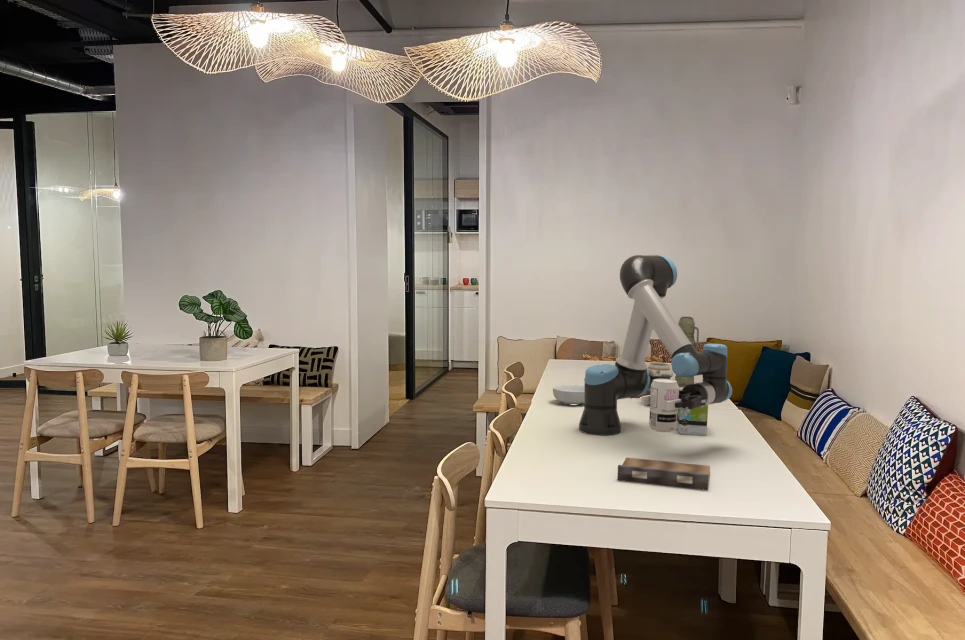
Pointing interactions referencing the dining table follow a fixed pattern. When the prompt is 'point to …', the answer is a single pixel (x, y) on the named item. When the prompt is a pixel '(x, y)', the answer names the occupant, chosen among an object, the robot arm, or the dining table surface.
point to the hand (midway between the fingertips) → (654, 403)
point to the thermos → (688, 329)
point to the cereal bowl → (569, 393)
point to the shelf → (664, 473)
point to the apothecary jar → (658, 373)
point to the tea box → (692, 420)
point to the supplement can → (663, 405)
